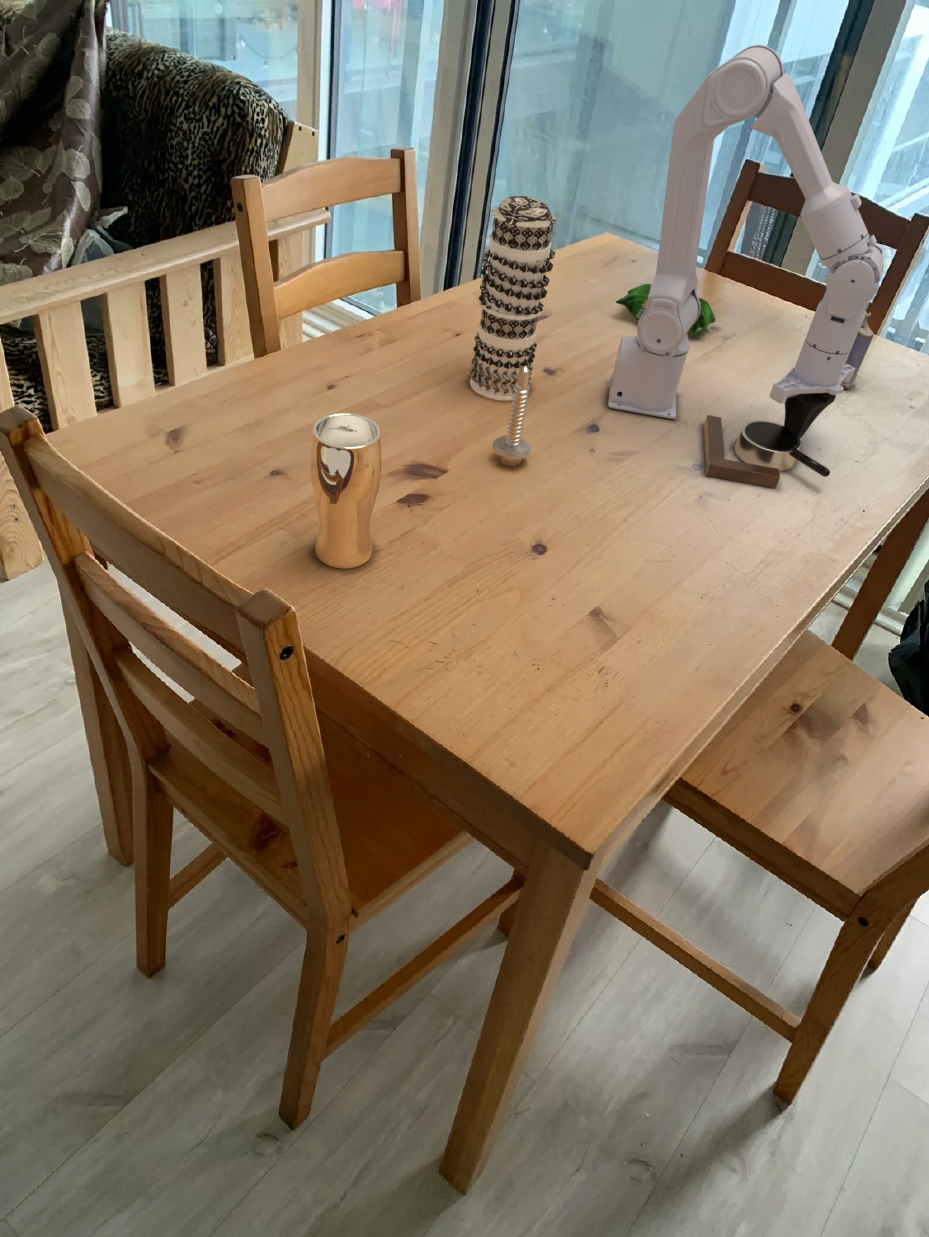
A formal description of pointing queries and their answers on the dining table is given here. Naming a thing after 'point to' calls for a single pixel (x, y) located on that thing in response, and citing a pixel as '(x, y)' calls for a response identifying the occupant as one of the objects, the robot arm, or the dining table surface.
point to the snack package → (638, 304)
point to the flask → (859, 349)
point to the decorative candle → (511, 294)
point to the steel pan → (773, 447)
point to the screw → (515, 425)
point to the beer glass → (345, 486)
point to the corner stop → (730, 468)
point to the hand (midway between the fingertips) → (791, 437)
